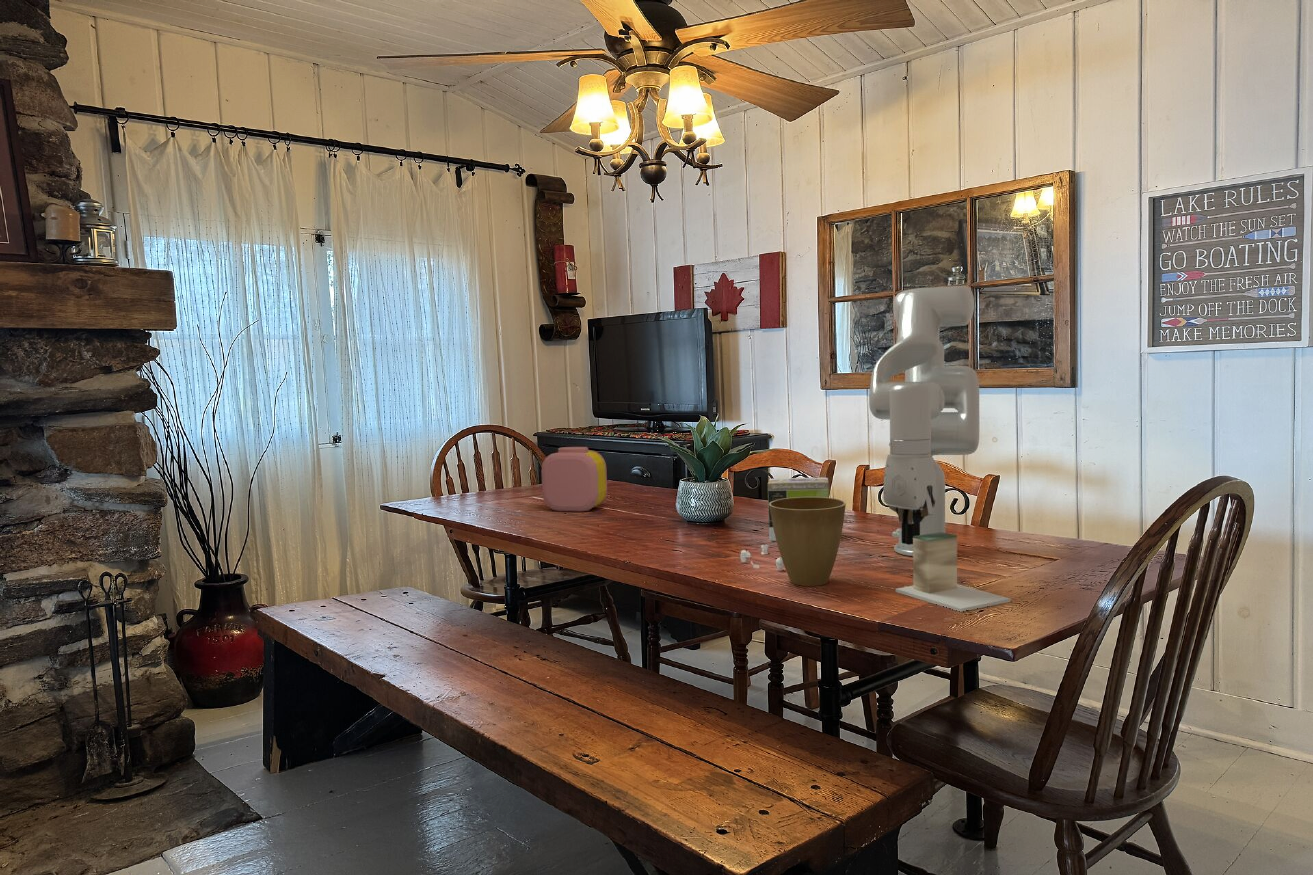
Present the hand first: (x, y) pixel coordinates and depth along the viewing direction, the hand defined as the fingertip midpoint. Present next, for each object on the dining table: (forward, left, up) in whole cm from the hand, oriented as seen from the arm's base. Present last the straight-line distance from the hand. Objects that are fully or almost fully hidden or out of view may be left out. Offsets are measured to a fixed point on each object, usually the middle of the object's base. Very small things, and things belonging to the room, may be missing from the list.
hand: (910, 543), depth 167 cm
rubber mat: (+10, 0, -8) cm, 13 cm away
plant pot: (-13, -15, -8) cm, 21 cm away
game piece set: (-31, -8, -9) cm, 33 cm away
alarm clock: (-126, -20, -8) cm, 128 cm away
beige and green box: (+6, 0, -8) cm, 10 cm away
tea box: (-50, +10, -9) cm, 51 cm away
